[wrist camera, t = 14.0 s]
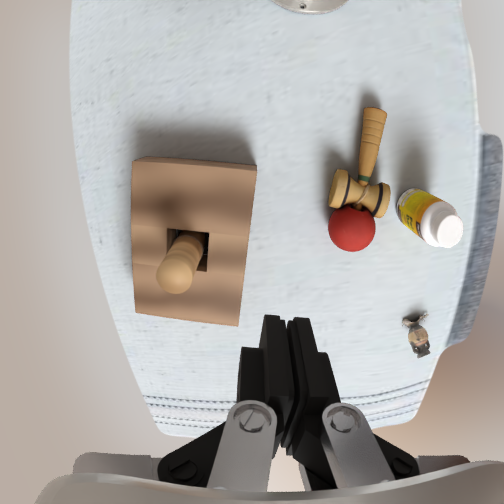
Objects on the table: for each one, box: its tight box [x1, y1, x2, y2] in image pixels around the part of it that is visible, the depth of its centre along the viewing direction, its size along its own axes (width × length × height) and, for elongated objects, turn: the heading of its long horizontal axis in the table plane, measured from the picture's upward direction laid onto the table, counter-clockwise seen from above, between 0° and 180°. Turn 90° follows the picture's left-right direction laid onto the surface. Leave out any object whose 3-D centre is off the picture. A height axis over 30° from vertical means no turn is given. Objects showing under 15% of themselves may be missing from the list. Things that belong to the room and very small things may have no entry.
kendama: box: [328, 107, 391, 252], centre depth 36 cm, size 8×6×18 cm
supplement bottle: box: [397, 188, 463, 248], centre depth 34 cm, size 6×6×10 cm
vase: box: [402, 314, 430, 358], centre depth 44 cm, size 5×5×6 cm
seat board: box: [131, 157, 257, 326], centre depth 38 cm, size 20×14×5 cm
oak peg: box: [156, 230, 206, 294], centre depth 35 cm, size 4×4×12 cm
